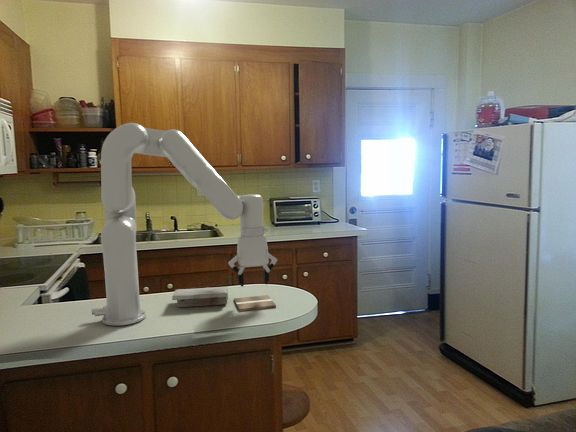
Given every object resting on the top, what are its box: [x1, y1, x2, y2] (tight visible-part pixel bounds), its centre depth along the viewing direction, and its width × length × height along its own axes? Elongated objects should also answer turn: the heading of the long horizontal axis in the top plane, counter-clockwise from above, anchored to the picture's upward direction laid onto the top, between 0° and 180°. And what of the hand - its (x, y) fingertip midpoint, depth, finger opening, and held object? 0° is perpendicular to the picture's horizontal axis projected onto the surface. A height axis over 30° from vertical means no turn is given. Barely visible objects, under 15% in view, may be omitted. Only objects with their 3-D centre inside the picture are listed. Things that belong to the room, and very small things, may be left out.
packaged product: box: [171, 286, 229, 308], centre depth 149 cm, size 18×5×10 cm
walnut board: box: [233, 294, 277, 312], centre depth 149 cm, size 12×12×1 cm
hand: (253, 284), depth 148 cm, fingers open, 7 cm apart
